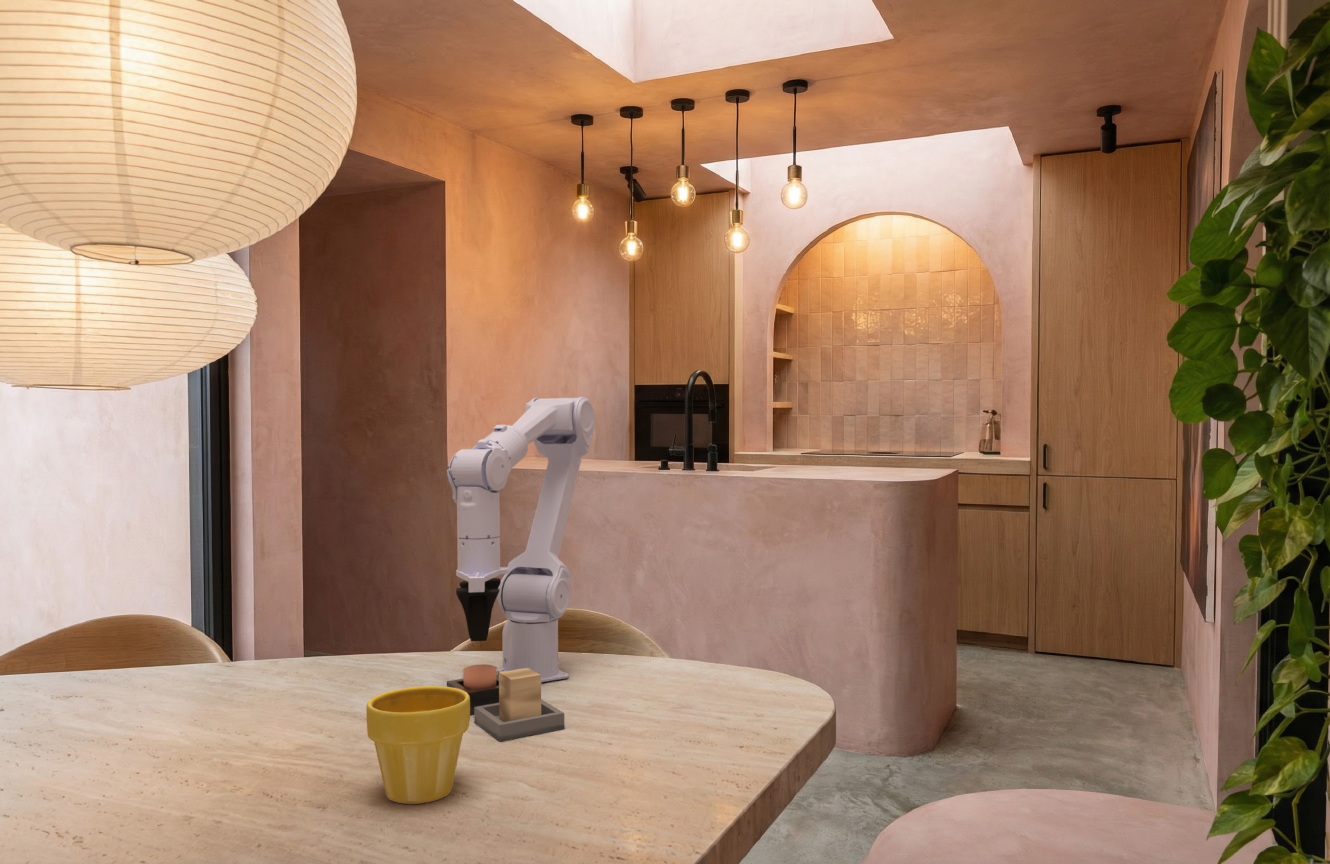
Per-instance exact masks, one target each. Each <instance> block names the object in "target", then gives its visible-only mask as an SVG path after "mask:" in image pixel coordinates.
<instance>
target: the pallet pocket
mask: <svg viewBox="0 0 1330 864" xmlns="http://www.w3.org/2000/svg"><path fill="white" fill-rule="evenodd" d="M473 717H474V718H473V719H474V721H473V722H474V723H475V725H477V727H480V728H481V729H482V730H483V731H484V732H486V733H488V734H489V735H490V736H491V737H493V738H494V739H495V740H497V741H498V742H507V741H510V740H516V739H521V738H522V739H523V738H527V737H530V736H531V737H532V736H537V735H542V734H546V733H550V732H556V731H560V730H564V729H565V712H563V710H562V711H561V710H560V709H559V708H556V707H555V706H554V705H552V704H550V703H548V702H547V701H545V700H544V699H542V698H541V715H540V716H534V717H529V718H524V719H518V720H513V721H508V722H502V721H501V720H500V719H499V703H495V704H489V705H484V706H478V707H474V716H473Z"/></svg>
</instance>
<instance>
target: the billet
mask: <svg viewBox="0 0 1330 864" xmlns="http://www.w3.org/2000/svg"><path fill="white" fill-rule="evenodd" d="M498 676H499V719H500V720H501V721H502V722H508V721H513V720H518V719H524V718H529V717H534V716H540V715H541V699H542V682H541V675H540V674H539V673H537V672H535V671H533V670H531V669H529V668H524V669H518V670H512V671H505V672H499V673H498Z"/></svg>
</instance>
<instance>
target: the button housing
mask: <svg viewBox="0 0 1330 864" xmlns="http://www.w3.org/2000/svg"><path fill="white" fill-rule="evenodd" d="M446 687H452V688H457V689H461V690H463V691H465V692H467V693H468V695H469V697H470V716H473V715H474V707H478V706H484V705H489V704H495V703H499V674H496V686H493V687H487V688H481V689H475V690H467V689H466V688H464V678H459V679H452V680H447V681H446Z"/></svg>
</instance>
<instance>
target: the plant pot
mask: <svg viewBox="0 0 1330 864" xmlns="http://www.w3.org/2000/svg"><path fill="white" fill-rule="evenodd" d="M470 717H471V715H470V697H469V695H468V693H467V692H465V691H463V690H461V689H457V688H452V687H447V686H442V685H441V686H440V685H423V686H421V685H420V686H411V687H405V688H404V687H403V688H397V689H393V690H389V691H386V692H383V693H380V694H377V695H375V696H373V697H371V698H370V699H369V700H368V701H367V703H366V733H367V737H368V738H369V739H370V740H371V741H372V742H374V747H375V751H376V756H377V760H378V765H379V769H380V774H381V778H382V783H383V788H384V791H385V796H386V798H388V800H389V801H391V802H395V803H398V804H402V805H404V804H405V805H418V804H419V805H421V804H426V803H430V802H435V801H437V800H441V799H442V798H444V797H446V796H448V795H449V794H450V793H451V792H452V788H453V786H454V779H455V775H456V774H455V773H456V769H457V766H458V765H457V764H458V760H459V756H460V749H461V747H462V741H463V736H464V734H465V733H466V732H467V731H468V730H469V728H470V720H471V719H470Z"/></svg>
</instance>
